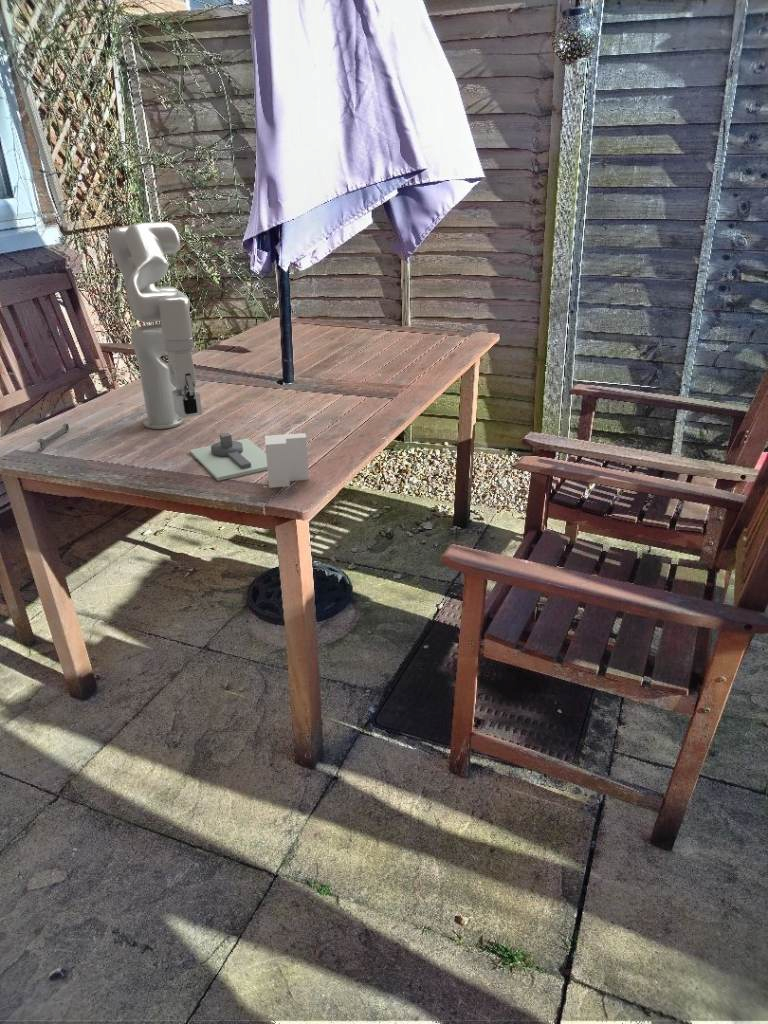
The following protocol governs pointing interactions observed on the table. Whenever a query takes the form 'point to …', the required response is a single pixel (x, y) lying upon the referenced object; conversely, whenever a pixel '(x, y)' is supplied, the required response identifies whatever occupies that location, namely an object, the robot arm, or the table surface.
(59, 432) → the combination wrench
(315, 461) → the table surface
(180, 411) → the brushed aluminum cube
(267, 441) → the corner bracket
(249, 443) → the board
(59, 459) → the table surface
